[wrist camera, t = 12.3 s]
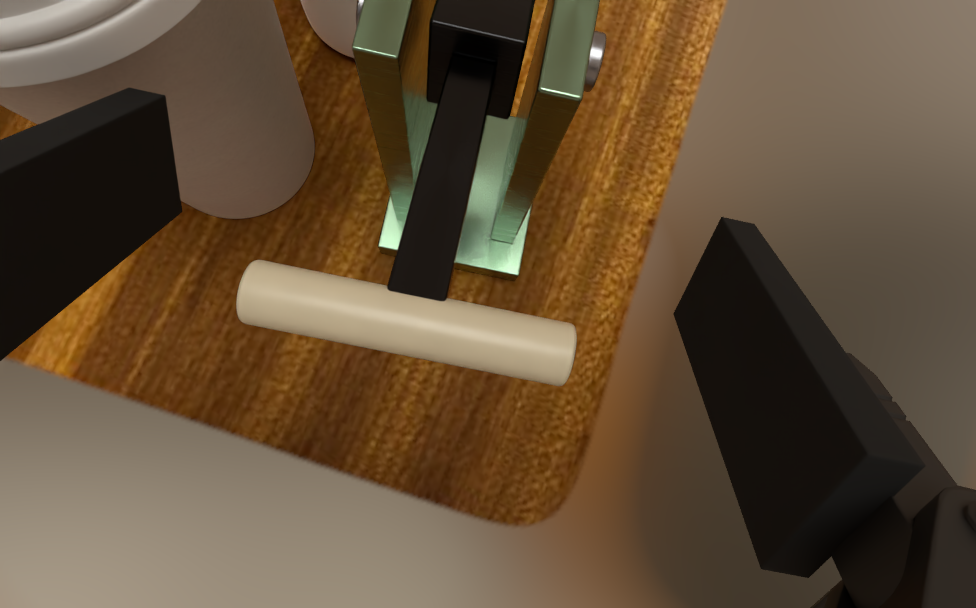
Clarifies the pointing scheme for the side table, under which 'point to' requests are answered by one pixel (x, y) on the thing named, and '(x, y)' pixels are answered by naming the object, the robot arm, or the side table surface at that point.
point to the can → (333, 22)
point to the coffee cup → (173, 86)
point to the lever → (431, 227)
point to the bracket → (506, 143)
